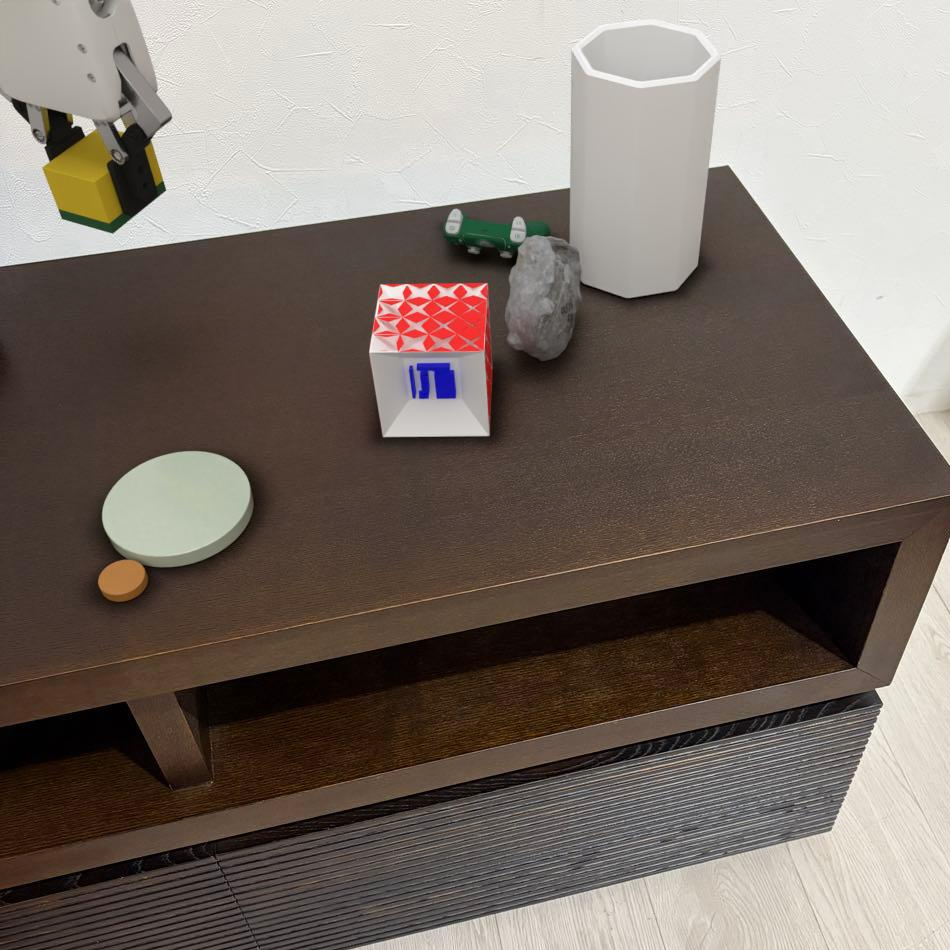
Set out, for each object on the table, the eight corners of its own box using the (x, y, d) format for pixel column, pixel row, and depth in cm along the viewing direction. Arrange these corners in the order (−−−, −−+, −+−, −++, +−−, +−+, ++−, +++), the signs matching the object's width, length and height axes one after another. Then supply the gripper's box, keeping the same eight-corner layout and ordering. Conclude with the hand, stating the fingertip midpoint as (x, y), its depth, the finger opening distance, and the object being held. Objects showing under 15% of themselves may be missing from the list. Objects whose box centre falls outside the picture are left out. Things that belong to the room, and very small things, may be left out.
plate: (76, 540, 74) (70, 528, 74) (166, 447, 81) (162, 435, 80) (197, 586, 72) (192, 574, 71) (281, 486, 78) (278, 474, 77)
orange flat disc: (91, 593, 71) (87, 586, 71) (120, 561, 73) (117, 553, 73) (129, 608, 71) (125, 600, 70) (157, 574, 72) (154, 567, 72)
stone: (598, 382, 85) (602, 273, 77) (511, 391, 84) (507, 282, 77) (579, 310, 91) (581, 202, 83) (497, 318, 90) (492, 210, 83)
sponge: (113, 234, 76) (94, 181, 73) (61, 219, 77) (41, 167, 74) (166, 190, 79) (151, 138, 76) (116, 177, 80) (99, 125, 77)
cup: (700, 230, 99) (724, 21, 85) (694, 305, 91) (718, 89, 77) (577, 222, 100) (580, 13, 86) (561, 294, 92) (561, 80, 79)
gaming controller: (447, 255, 100) (429, 241, 94) (454, 212, 99) (436, 196, 93) (546, 268, 98) (534, 254, 92) (553, 225, 98) (541, 209, 92)
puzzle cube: (492, 367, 86) (488, 283, 80) (489, 436, 81) (484, 351, 75) (391, 368, 86) (378, 284, 80) (381, 437, 81) (367, 352, 75)
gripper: (175, -85, 64) (241, 197, 77) (-46, -125, 68) (54, 148, 82) (89, -37, 59) (176, 253, 73) (-141, -84, 64) (-19, 197, 78)
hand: (110, 195), depth 77 cm, fingers closed on sponge, 4 cm apart
